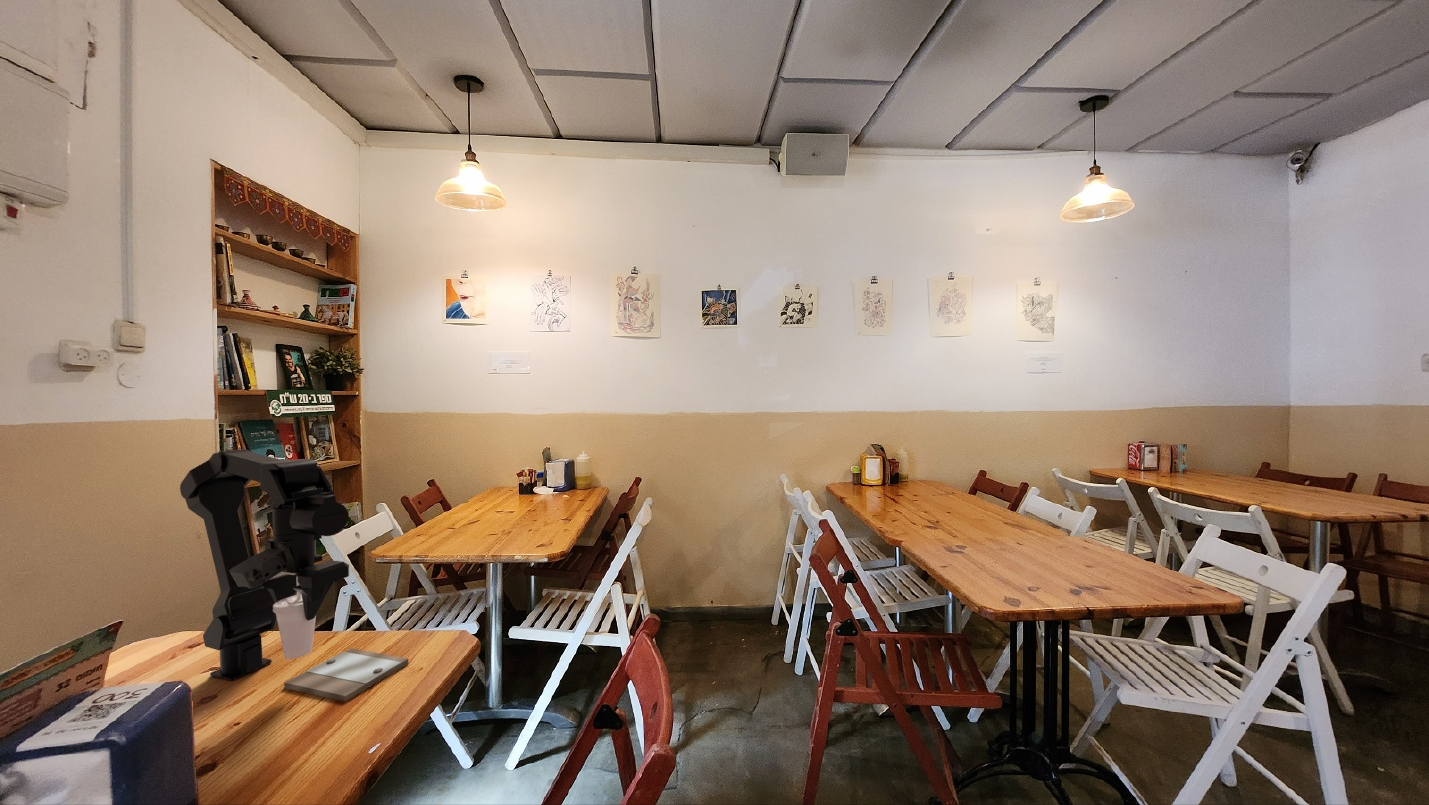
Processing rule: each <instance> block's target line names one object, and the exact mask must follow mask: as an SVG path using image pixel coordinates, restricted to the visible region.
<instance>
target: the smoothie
mask: <svg viewBox="0 0 1429 805" xmlns="http://www.w3.org/2000/svg"><path fill="white" fill-rule="evenodd" d="M296 583H297V586H298V585H300V584H299V583H298V576H296ZM273 612H274V613H276V622H277V625H278V631H279V635H280V640H281V645H282V650H283V654H284V658H285V660H286V659H287V660H292V659H293V660H294V659H298V658H301V657H304V656H306V655H308V654H310V653H311V652H312V651H313V645H314V644H313V643H314V636H315V628H316V618H317V615H316V616H315V618H314V619H312V620H309V621H308V620H306V617H305V612H304V606H303V600H302V594H301V593H300V592H298V591H296V594H294V596H290V597H287V598H284V599H282V600H279V601H278V602H276V603H275V604H274V605H273Z"/></svg>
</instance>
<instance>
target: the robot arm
mask: <svg viewBox="0 0 1429 805" xmlns="http://www.w3.org/2000/svg"><path fill="white" fill-rule="evenodd" d="M252 481H255V482H257V483H259V484H260V485H259V489H261V490H262V491H263V492H265V493H267V494H268V496H270V498H269V499H268V500H267V502H266V505H267V506H270V507H271V508H272V512H271V513H272V514H271V515H272V538H269V539H267V540H266V542H265V543H264V550H262V551H261V552H259V553H257V554H256V553H255V554H254V555H253V556H251V557H250V554H249V550H248V544H247V541H246V537H245V534H244V530H243V525H242V521H241V517H240V513H239V509H240V507H241V505H242V504H243V502H244V499H245V498H246V493H247V492H246V487H247V485H248V484H249V483H250V482H252ZM332 487H333V485H332V483H331V482H330V480H329V479H328V477H327V475H325V473H324V471H323V469H322V467H321V466H320V465H319V463H318V462H317V461H316V460H315V459H313V458H300V459H279V458H275V457H271V456H267V455H264V454H260V453H256V452H252V450H249V449H244V448H242V449H230V450H221V451H220V450H219V451H217V452H215V453H212V454H211V456H210V458H208V460H206V461H205V462H203V463H201V464H199V465H197V466H196V467H193V468H192V469H190V470H189V471H188V473H187V474H186V475H185V477H184V478H183V480H182V481H181V483H180V486H179V491H180V495H181V496H182V498H183V499H185V502H186V505H187V509H188V510H190V511H191V512H192V513H194V514H195V515H197V516H198V517H200V518H201V519H203V522H204V527H205V530H206V535H207V539H208V543H209V547H210V551H211V554H212V555H211V556H212V560H213V564H214V565H213V566H214V568H215V572H216V576H217V581H218V586H219V590H220V593H219V596H218V597H217V600H216V602H215V603H214V605H213V608H212V620H211V621H210V624H209V625H208V626H207V628H206V630H205V631H204V633H203V635H202V637H203V638H202V639H203V642H204V644H203V645H204V646H205V648H209V649H213V650H216V651H219V668H218V669H216V670H213V671H212V672H210V673H209V676H210V677H214V678H218V679H222V680H226V681H231V682H232V681H235V680H236V679H239V678H242V677H244V676H246V675H248V674H250V673H252V672H255V671H256V670H259V669H261V668H263V667H265V666H267V665H269V664H271V663H272V659H269V658H265V657H263V644H262V642H263V641H262V640H263V639H262V634H264V633H266V632H267V633H268V632H270V631H273V630H274V629H275V625H276V622H277V617H276V613H274V612H273V605H274V604H275V603H276V602H278V601H279V600H282V599H284V598H287V597H290V596H294V595H296V592H297V591H298V592H300V593H301V594H302V600H303V606H304V612H305V617H306V620H308V621H309V620H312V619H314V618H315V616H316V617H317V614H318V613H319V610H320V608H321V606H322V604H323V602H324V600H325V598H326V596H327V595H328V593H329V591H330V590H331V588H332V586H333V584H334V583H335V582H337V581H339V580H343V579H346V578H348V577H349V576H350V564H348V563H347V562H345V561H342V560H333V559H329V560H326V561H323V555H322V554H317V540H320V539H322V537H332V536H335V535H337V534H339V533H340V532H342V531H343V529H344V528H345V527H346V525H347V524H348V521H349V519H350V518H349V517H350V514H349V511H348V509H347V507H346V506H345V505H344V504H342V503H340V502H337V500H336V495H335V494H334V491H333V489H332ZM322 561H323V562H322ZM319 562H320V563H319ZM315 563H317V564H315ZM296 576H298V583H299V584H300V585H298V586H297V583H296Z"/></svg>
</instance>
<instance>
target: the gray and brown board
mask: <svg viewBox="0 0 1429 805" xmlns="http://www.w3.org/2000/svg"><path fill="white" fill-rule="evenodd" d="M407 665H409V658H407V657H403V656H402V657H401V656H396V655H390V654H384V653H378V652H373V651H368V650H362V649H357V648H349V649H347V650H345V651H343V652H340V653H337V655H334V656H333V657H331V658H329V659H326V660H325V661H322V662H321V663H319V664H317V665H315V666H312V667H311V668H309V669H307V670H305V671H304V672H302V673H300V674H297V675H296V676H294V677H292V678H290V679H288V680H287V681H284V682H283V686H284V689H286V690H292V691H296V692H300V693H301V692H302V693H305V694H309V695H314V694H315V695H314V696H318V695H319V697H324V698H328V699H332V700H337V701H341V702H348V701H350V700H351V699H353V698H354V697H356V696H358V695H359V694H360V693H362V692H364V691H366V690H367V688H368V687H369V686H371V687H373V686H374V685H376V684H377V683H379V682H380V681H379V680H381V679H382V680H384V679H385V678H384V677H386V678H387V677H389V676H391V675H392V674H394V673H396V672H397V671H399V670H401V669H402V668H403V667H405V666H407ZM398 669H399V670H398ZM396 670H397V671H396ZM395 671H396V672H395ZM393 672H394V673H393ZM390 674H391V675H390ZM383 678H384V679H383ZM382 680H381V681H382ZM378 681H379V682H378ZM375 683H376V684H375ZM373 684H374V685H373ZM369 688H370V687H369ZM369 688H368V689H369ZM365 689H366V690H365ZM357 694H358V695H357Z"/></svg>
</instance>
